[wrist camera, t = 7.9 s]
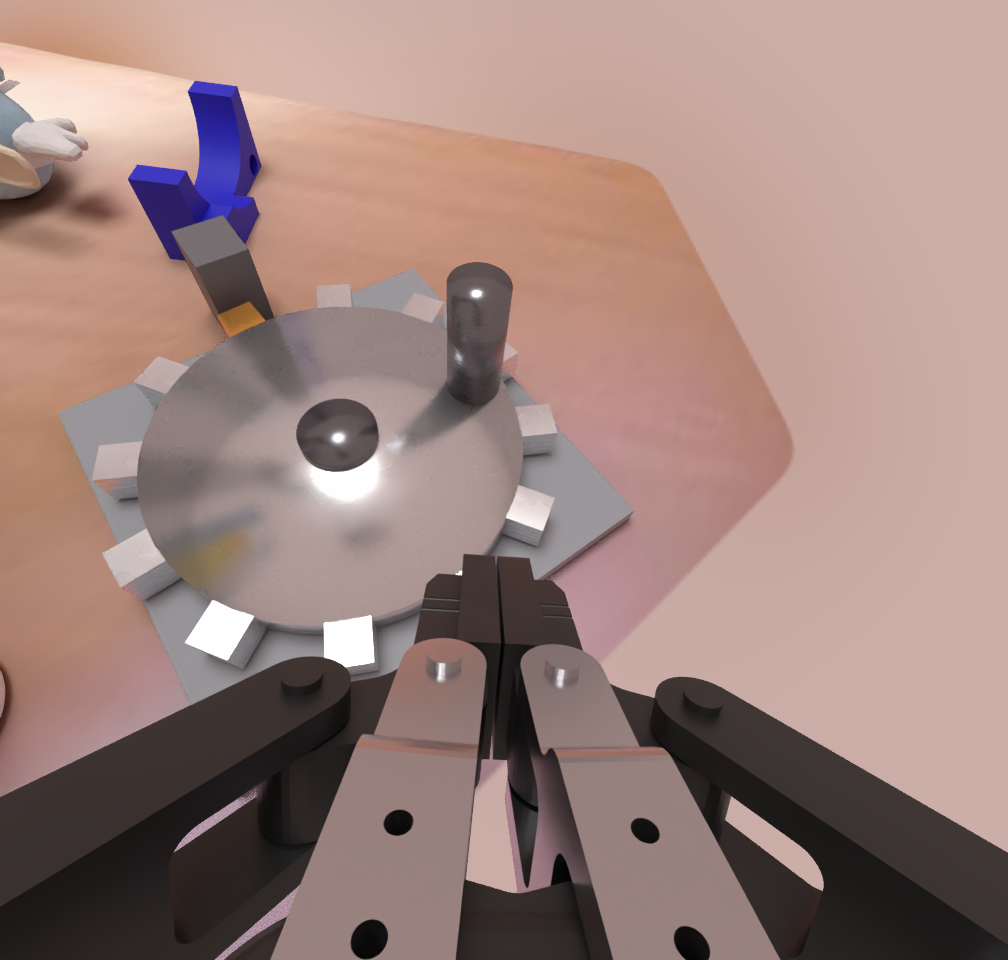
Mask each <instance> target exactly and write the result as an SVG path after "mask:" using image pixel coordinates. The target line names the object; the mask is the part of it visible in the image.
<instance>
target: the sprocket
mask: <svg viewBox="0 0 1008 960" xmlns="http://www.w3.org/2000/svg"><path fill="white" fill-rule="evenodd" d="M512 290H513V285H512V281H511V279H510V277H509V276H508V275H507V274H506V273H505V272H504V271H503V270H502V269H500V268H498V267H496V266H494V265H491V264H488V263H481V262H473V263H467V264H463V265H461V266H459V267H457V268H455V269H454V270H453V271H452V272H451V273H450V274H449V276H448V279H447V330H445V329H443V327H444V302H442V301H439V300H436V299H433V298H430V297H427V296H424V295H421V294H418V293H415V292H414V294H413V295H412V297H411V298H410V300H409V301H408V303H407V304H406V306H405V307H404V309H403V311H402V312H401V313H400V312H395V311H390V310H384V309H378V308H368V307H354V302H353V297H352V292H351V287H350V284H341V285H322V286H317V309H310V310H305V311H300V312H295V313H290V314H287V315H284V316H280V317H277V318H273V319H270V320H267V321H265V319H264V318H263V317H262V316H261V315H260V313H259V312H258V311H257V310H256V309H255V307H254V306H253V305H252V304H251V303H250V302H247V303H244V304H242V305H240V306H237V307H235V308H233V309H231V310H228V311H226V312H224V313H221V314H219V315H217V316H218V318H219V320H220V322H221V324H222V326H223V328H224V330H225V332H226V334H227V336H228V339H227V340H225V341H224V342H222V343H221V344H219V345H217V346H216V347H214V348H213V349H211V350H210V351H209V352H207V353H206V354H205V355H204V356H202V357H201V358H200V359H199V360H197V361H196V362H195V363H194V364H193V365H192V366H191V367H188V366H185V365H182V364H179V363H176V362H174V361H171V360H168V359H165V358H162V357H160V356H158V357H157V358H156V359H155V360H154V361H153V362H152V363H151V364H150V365H149V366H148V367H147V368H146V369H145V370H144V371H143V373H142V374H141V375H140V376H139V377H138V378H137V379H136V380H135V381H134V383H135V385H136V386H137V387H138V388H139V390H140V391H141V392H142V393H143V395H144V396H145V397H146V398H147V400H148V401H149V402H150V404H151V405H153V406H156V407H158V408H157V409H156V411H155V413H154V414H153V416H152V418H151V421H150V423H149V425H148V428H147V430H146V433H145V435H144V438H143V441H140V442H130V443H119V444H108V445H99V448H98V453H97V458H96V463H95V467H94V472H93V477H92V481H93V482H94V483H95V484H97V485H98V486H99V487H100V488H101V489H103V490H104V491H105V492H106V493H107V494H109V495H110V496H111V497H112V498H113V499H114V500H115V499H124V498H134V497H138V502H139V506H140V510H141V513H142V517H143V521H144V524H145V526H146V529H145V530H143V531H141V532H139V533H137V534H136V535H134V536H132V537H130V538H128V539H127V540H125V541H123V542H121V543H120V544H118V545H116V546H114V547H112V548H111V549H109V550H107V551H105V552H103V553H102V555H103V556H104V558H105V560H106V562H107V564H108V566H109V567H110V569H111V571H112V573H113V575H114V577H115V578H116V580H117V582H118V584H119V586H120V587H121V588H122V589H124V590H126V591H127V592H129V593H131V594H132V595H134V596H136V597H138V598H139V599H141V600H143V601H144V600H146V599H147V598H149V597H150V596H152V595H154V594H155V593H157V592H159V591H160V590H162V589H164V588H165V587H167V586H169V585H170V584H172V583H173V582H175V581H177V580H178V579H180V578H183V579H184V580H185V581H186V582H187V583H188V584H189V585H191V586H192V587H193V588H195V589H196V590H197V591H199V592H200V593H201V594H203V595H204V596H205V597H207V598H208V599H210V600H211V601H212V602H211V603H210V605H209V606H208V608H207V610H206V611H205V613H204V614H203V616H202V617H201V619H200V620H199V622H198V623H197V625H196V626H195V628H194V629H193V631H192V632H191V634H190V635H189V637H188V639H187V640H186V642H185V643H186V644H188V645H190V646H192V647H194V648H195V649H197V650H199V651H201V652H203V653H205V654H208V655H210V656H213V657H215V658H218V659H220V660H222V661H225V662H227V663H230V664H232V665H235V666H237V667H239V668H242V669H244V667H245V666H246V664H247V662H248V660H249V659H250V657H251V655H252V654H253V652H254V650H255V648H256V647H257V645H258V643H259V642H260V640H261V638H262V637H263V635H264V633H265V631H266V630H267V628H270V629H274V630H280V631H285V632H291V633H297V634H315V635H324V645H325V658H330V659H333V660H335V661H337V662H339V663H341V664H342V665H344V666H345V667H346V668H347V670H348V671H349V673H350V675H356V674H362V673H368V672H374V671H379V659H378V644H377V629H376V628H377V627H381V626H384V625H387V624H390V623H393V622H396V621H399V620H401V619H404V618H407V617H409V616H411V615H413V614H415V613H417V612H419V611H421V607H422V602H423V599H424V593H425V588H426V584H427V583H428V582H429V581H430V580H431V579H432V578H434V577H435V576H436V575H437V574H438V573H439V574H454V575H462V566H463V554H476V555H489V554H490V552H491V551H492V549H493V548H494V546H495V545H496V543H497V542H498V540H499V539H500V537H501V535H502V534H504V535H507V536H510V537H512V538H515V539H518V540H520V541H523V542H526V543H529V544H531V545H534V546H538V543H539V540H540V538H541V535H542V533H543V530H544V527H545V524H546V521H547V518H548V516H549V513H550V510H551V507H552V504H553V501H554V499H555V498H554V497H551V496H548V495H546V494H543V493H540V492H537V491H534V490H532V489H529V488H526V487H523V486H520V485H519V482H520V476H521V470H522V463H523V455H531V454H541V453H550V452H551V451H552V448H553V445H554V442H555V439H556V435H557V430H556V426H555V423H554V419H553V415H552V412H551V408H550V404H540V405H529V406H519V407H515V404H514V402H513V400H512V398H511V396H510V394H509V392H508V390H507V387H506V386H505V384H504V383H503V382H504V381H506V380H507V379H509V378H511V377H512V376H514V375H515V370H516V364H517V357H518V352H517V351H516V350H514V349H513V348H512V347H511V346H510V345H509V344H508V343H507V342H506V336H507V328H508V320H509V313H510V305H511V297H512Z"/></svg>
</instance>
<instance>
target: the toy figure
mask: <svg viewBox="0 0 1008 960" xmlns="http://www.w3.org/2000/svg"><path fill="white" fill-rule="evenodd" d="M3 80H5V78H4V73H3V70H2V69H1V67H0V82H2V81H3ZM19 83H20V82H16V81H12V80H8V81H6V82H5V83H3V84H2V85H0V199H14V198H20V197H26V196H29V195H31V194H33V193H35V192H38V191H39V190H40V189H41V188H42V187H43V186H45V185H46V184H47V183H48V182H49V180H50V178H51V175H52V172H53V162H54V161H55V160H56V159H57V160H64V161H77V160H78V159H79V158H80V157H82V150H87V149H88V143H87V142H86V141H85V139H84V138H82V137H81V136H79V135H77V134H76V132H77V130H76V128H75V125H74V123H73V122H71V121H70V120H69V119H62V118H56V119H49V120H43V121H37V122H35V121H34V120H33V119H32V118H31V116H30V115H29V114H28V113H27V112H26V111H25V110H24V109H23V108H22V107H21V106H20V105H18V104H17V103H16V102H14V101H13V100H12V99H10V98H9V97H8V96H6V95H5V93H6V92H8V91H9V90H11V89H12V88H14V87H15V86H16V85H18V84H19Z"/></svg>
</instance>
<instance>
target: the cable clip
mask: <svg viewBox="0 0 1008 960" xmlns="http://www.w3.org/2000/svg"><path fill="white" fill-rule="evenodd" d="M188 94H189V96H190V99H191V103H192V106H193V110H194V114H195V118H196V123H197V129H198V136H199V150H200V156H199V169H198V175H197V179H196V182H195V185H193V183H192V181H191V180H190V178H189V176H188V173H187V171H184V170H176V169H168V168H160V167H152V166H143V165H137V166H136V168H135V169H134V170H133V172H132V173H131V175H130V176H129V178H128V180H129V182H130V184H131V186H132V188H133V190H134V192H135V193H136V195H137V197H138V199H139V201H140V203H141V205H142V207H143V208H144V210H145V212H146V214H147V216H148V218H149V220H150V222H151V223H152V225H153V227H154V229H155V231H156V233H157V235H158V237H159V238H160V240H161V242H162V244H163V246H164V248H165V250H166V252H167V253H168V255H169V257H170V259H178V260H185V258H184V256H183V254H182V252H181V250H180V248H179V246H178V244H177V242H176V240H175V238H174V236H173V234H172V232H171V231H174V230H177V229H181V228H184V227H187V226H190V225H193V224H196V223H200V222H203V221H206V220H209V219H212V218H215V217H219V216H222V215H223V216H224V217H225V219H226V220H227V221H228V223H229V224H230V225H231V227H232V228H233V229H234V231H235V232H236V233H237V235H238V236H239V237H240V239H241V240H242V241H243V243H244V244H245V243H246V241H247V239H248V236H249V234H250V232H251V230H252V228H253V226H254V223H255V221H256V219H257V217H258V215H259V212H258V209H257V206H256V203H255V200H254V198H253V197H246V196H247V194H248V192H249V190H250V188H251V186H252V184H253V182H254V180H255V178H256V176H257V174H258V172H259V170H260V168H261V163H260V160H259V157H258V153H257V150H256V147H255V143H254V140H253V137H252V134H251V130H250V127H249V124H248V120H247V117H246V114H245V111H244V107H243V104H242V101H241V97H240V94H239V91H238V88H237V86H230V85H222V84H215V83H207V82H200V81H195V82H194V83H193V85H192V86H191V87H190V89H189V90H188Z"/></svg>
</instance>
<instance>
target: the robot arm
mask: <svg viewBox="0 0 1008 960" xmlns="http://www.w3.org/2000/svg"><path fill="white" fill-rule="evenodd" d="M491 736H492V744H493V759H497V760H507V765H508V776H507V786H506V793H505V804H506V811H507V818H508V825H509V833H510V839H511V846H512V854H513V861H514V868H515V875H516V882H517V890H518V893H510V892H506V891H502V890H499V889H495V888H492V887H489V886H485V885H482V884H478V883H475V882H471V881H468V880H466V872H467V862H468V853H469V842H470V833H471V822H472V813H473V803H474V793H475V788H476V787H477V785H478V782H479V779H480V771H481V761H482V759H489V756H490V746H491ZM254 787H256V792H257V797H256V798H254V799H253V800H251V801H250V802H248V803H247V804H245V805H244V806H242V807H241V808H239V809H238V810H236V811H235V812H233V813H232V814H230V815H229V816H227V817H226V818H225V819H223V820H222V821H220V822H219V823H217V824H216V825H214V826H213V827H211V828H210V829H208V830H207V831H205V832H204V833H202V834H201V835H199V836H198V837H196V838H195V839H194V840H192V841H191V842H189V843H188V844H186V845H185V846H183V847H182V848H180V849H179V850H177V851H176V852H174V850H175V849H176V847H177V846H178V844H179V843H180V842H181V840H182V839H183V838H184V837H185V836H186V835H187V834H188V833H189V832H190V831H191V830H192V829H193V828H194V827H196V826H197V825H198V824H200V823H201V822H203V821H204V820H206V819H207V818H209V817H210V816H212V815H213V814H215V813H216V812H218V811H220V810H221V809H223V808H224V807H226V806H227V805H229V804H230V803H232V802H233V801H235V800H236V799H238V798H239V797H241V796H242V795H244V794H245V793H247V792H248V791H250V790H251V789H253V788H254ZM731 796H732V797H733V798H735V799H736V800H738V801H739V802H740V803H742V804H743V805H744V806H746V807H747V808H749V809H750V810H751V811H753V812H754V813H755V814H757V815H758V816H760V817H761V818H762V819H764V820H765V821H767V822H768V823H769V824H771V825H772V826H773V827H775V828H776V829H778V830H779V831H780V832H782V833H783V834H785V835H786V836H787V837H789V838H790V839H791V840H793V841H794V842H796V843H797V844H799V845H800V846H801V847H802V848H803V849H805V850H806V851H807V852H808V853H809V854H810V856H811V857H812V858H813V859H814V861H815V862H816V864H817V865H818V867H819V869H820V871H821V873H822V876H823V881H824V888H823V891H821V890H818V889H816V888H814V887H813V886H811V885H810V884H808V883H807V882H806V881H804V880H803V879H802V878H800V877H799V876H798V875H796V874H795V873H794V872H792V871H791V870H790V869H788V868H787V867H786V866H785V865H783V864H782V863H781V862H779V861H778V860H777V859H775V858H774V857H773V856H771V855H770V854H769V853H768V852H766V851H765V850H764V849H762V848H761V847H760V846H758V845H757V844H756V843H754V842H753V841H752V840H750V839H749V838H748V837H747V836H745V835H744V834H743V833H741V832H740V831H739V830H737V829H736V828H735V827H733V826H732V825H731V824H729V823H728V822H727V821H726V820H725V818H726V814H727V810H728V806H729V802H730V798H731ZM173 852H174V853H173ZM299 885H300V887H299V889H298V892H297V894H296V897H295V899H294V902H293V904H292V907H291V909H290V912H289V914H288V917H286V918H284V919H282V920H280V921H278V922H276V923H274V924H273V925H271V926H269V927H268V928H266V929H265V930H263V931H261V932H260V933H258V934H257V935H255V936H254V937H252V938H251V939H250V940H248V941H247V942H246V943H244V944H243V945H242V946H241V947H239V948H238V949H237V950H235V951H234V952H233V953H231V954H230V955H229V956H228V957H227V958H226V959H225V960H1008V853H1007V852H1006V851H1004V850H1002V849H1000V848H999V847H997V846H995V845H993V844H992V843H990V842H988V841H986V840H985V839H983V838H981V837H980V836H978V835H976V834H974V833H973V832H971V831H969V830H967V829H966V828H964V827H962V826H961V825H959V824H957V823H955V822H954V821H952V820H950V819H948V818H947V817H945V816H943V815H941V814H940V813H938V812H936V811H934V810H933V809H931V808H929V807H928V806H926V805H924V804H922V803H921V802H919V801H917V800H915V799H913V798H912V797H910V796H908V795H907V794H905V793H903V792H902V791H900V790H898V789H896V788H895V787H893V786H891V785H889V784H888V783H886V782H884V781H883V780H881V779H879V778H877V777H876V776H874V775H872V774H870V773H869V772H867V771H865V770H863V769H862V768H860V767H858V766H857V765H855V764H853V763H851V762H850V761H848V760H846V759H844V758H843V757H841V756H839V755H837V754H836V753H834V752H832V751H830V750H829V749H827V748H825V747H823V746H822V745H820V744H818V743H817V742H815V741H813V740H811V739H810V738H808V737H806V736H805V735H803V734H801V733H799V732H797V731H796V730H794V729H792V728H791V727H789V726H787V725H785V724H784V723H782V722H780V721H778V720H777V719H775V718H773V717H771V716H770V715H768V714H766V713H765V712H763V711H761V710H759V709H758V708H756V707H754V706H753V705H751V704H749V703H747V702H746V701H744V700H742V699H740V698H738V697H737V696H735V695H733V694H732V693H730V692H728V691H726V690H725V689H723V688H721V687H719V686H717V685H715V684H713V683H710V682H707V681H704V680H700V679H696V678H690V677H674V678H670V679H667V680H665V681H663V682H661V683H660V684H659V686H658V687H657V689H656V693H655V698H652V697H649V696H645V695H641V694H637V693H634V692H630V691H626V690H623V689H620V688H618V687H616V686H613V685H612V684H610V683H609V681H608V679H607V677H606V675H605V673H604V670H603V668H602V667H601V665H600V664H599V663H598V661H597V660H596V659H594V658H593V657H592V656H591V655H589V654H587V653H586V652H584V651H583V649H582V646H581V643H580V640H579V637H578V634H577V631H576V627H575V624H574V621H573V619H572V615H571V612H570V609H569V608H568V602H567V599H566V596H565V593H564V592H563V591H562V590H561V589H560V588H559V587H558V586H557V585H556V584H555V583H554V582H553V581H550V580H534V576H533V572H532V567H531V562H530V559H529V558H522V557H507V556H497V561H495V556H491V555H476V554H463V566H462V575H454V574H439V573H438V574H437V575H436V576H435V577H434V578H432V579H431V580H430V581H429V582H428V583H427V584H426V588H425V593H424V599H423V602H422V607H421V612H420V617H419V622H418V626H417V631H416V636H415V641H414V645H413V646H412V647H410V648H409V649H408V650H407V651H406V652H405V653H404V655H403V657H402V659H401V662H400V664H399V667H398V669H396V670H394V671H392V672H390V673H388V674H385V675H382V676H379V677H375V678H370V679H364V680H358V681H352V682H351V676H350V673H349V671H348V670H347V668H346V667H345V666H344V665H342V664H341V663H339V662H337V661H335V660H333V659H330V658H325V657H318V656H305V657H297V658H293V659H289V660H285V661H282V662H280V663H277V664H275V665H273V666H271V667H269V668H267V669H265V670H263V671H261V672H258V673H256V674H254V675H252V676H250V677H248V678H246V679H244V680H242V681H240V682H238V683H236V684H234V685H232V686H230V687H227V688H225V689H223V690H221V691H219V692H217V693H215V694H213V695H211V696H209V697H207V698H205V699H203V700H201V701H198V702H196V703H194V704H192V705H190V706H188V707H186V708H184V709H182V710H180V711H178V712H176V713H174V714H172V715H170V716H167V717H165V718H163V719H161V720H159V721H157V722H155V723H153V724H151V725H149V726H147V727H145V728H143V729H141V730H139V731H136V732H134V733H132V734H130V735H128V736H126V737H124V738H122V739H120V740H118V741H116V742H114V743H112V744H110V745H108V746H105V747H103V748H101V749H99V750H97V751H95V752H93V753H91V754H89V755H87V756H85V757H83V758H81V759H79V760H76V761H74V762H72V763H70V764H68V765H66V766H64V767H62V768H60V769H58V770H56V771H54V772H52V773H50V774H48V775H45V776H43V777H41V778H39V779H37V780H35V781H33V782H31V783H29V784H27V785H25V786H23V787H21V788H19V789H17V790H14V791H12V792H10V793H8V794H6V795H4V796H2V797H0V960H214V959H215V958H217V957H218V956H219V955H220V954H221V953H222V952H223V951H225V950H226V949H227V948H228V947H229V946H230V945H231V944H233V943H234V942H235V941H236V940H237V939H238V938H239V937H241V936H242V935H243V934H244V933H245V932H246V931H247V930H249V929H250V928H251V927H252V926H253V925H254V924H255V923H257V922H258V921H259V920H260V919H261V918H262V917H263V916H265V915H266V914H267V913H268V912H269V911H270V910H271V909H273V908H274V907H275V906H276V905H277V904H278V903H279V902H281V901H282V900H283V899H284V898H285V897H286V896H287V895H289V894H290V893H291V892H292V891H293V890H294V889H295V888H297V887H298V886H299Z"/></svg>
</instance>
